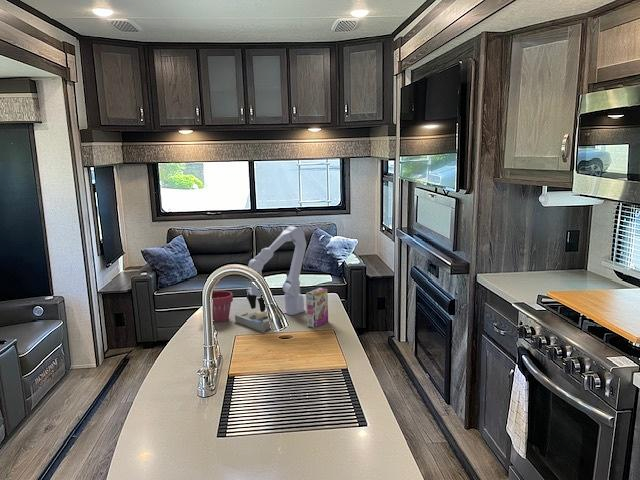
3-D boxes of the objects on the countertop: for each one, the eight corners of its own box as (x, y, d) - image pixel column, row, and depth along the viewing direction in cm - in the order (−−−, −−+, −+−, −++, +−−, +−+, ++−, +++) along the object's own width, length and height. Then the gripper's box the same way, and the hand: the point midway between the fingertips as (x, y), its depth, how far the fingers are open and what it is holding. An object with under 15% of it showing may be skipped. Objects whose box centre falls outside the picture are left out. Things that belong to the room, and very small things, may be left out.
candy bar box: (315, 328, 218) (313, 294, 215) (306, 326, 221) (305, 292, 218) (329, 321, 227) (327, 288, 224) (320, 319, 230) (319, 287, 227)
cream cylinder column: (264, 315, 240) (264, 308, 240) (269, 316, 238) (268, 309, 237) (243, 322, 231) (242, 315, 231) (247, 323, 229) (247, 316, 228)
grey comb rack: (245, 318, 236) (244, 310, 235) (273, 328, 220) (272, 320, 220) (235, 321, 232) (234, 313, 231) (262, 332, 216) (262, 323, 215)
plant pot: (238, 314, 242) (236, 290, 240) (227, 324, 229) (225, 298, 227) (212, 314, 246) (210, 290, 243) (200, 323, 232) (197, 298, 230)
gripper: (241, 282, 235) (242, 309, 237) (258, 287, 225) (260, 314, 227) (252, 279, 240) (254, 305, 242) (270, 284, 229) (272, 311, 232)
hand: (258, 310), depth 235 cm, fingers open, 7 cm apart
